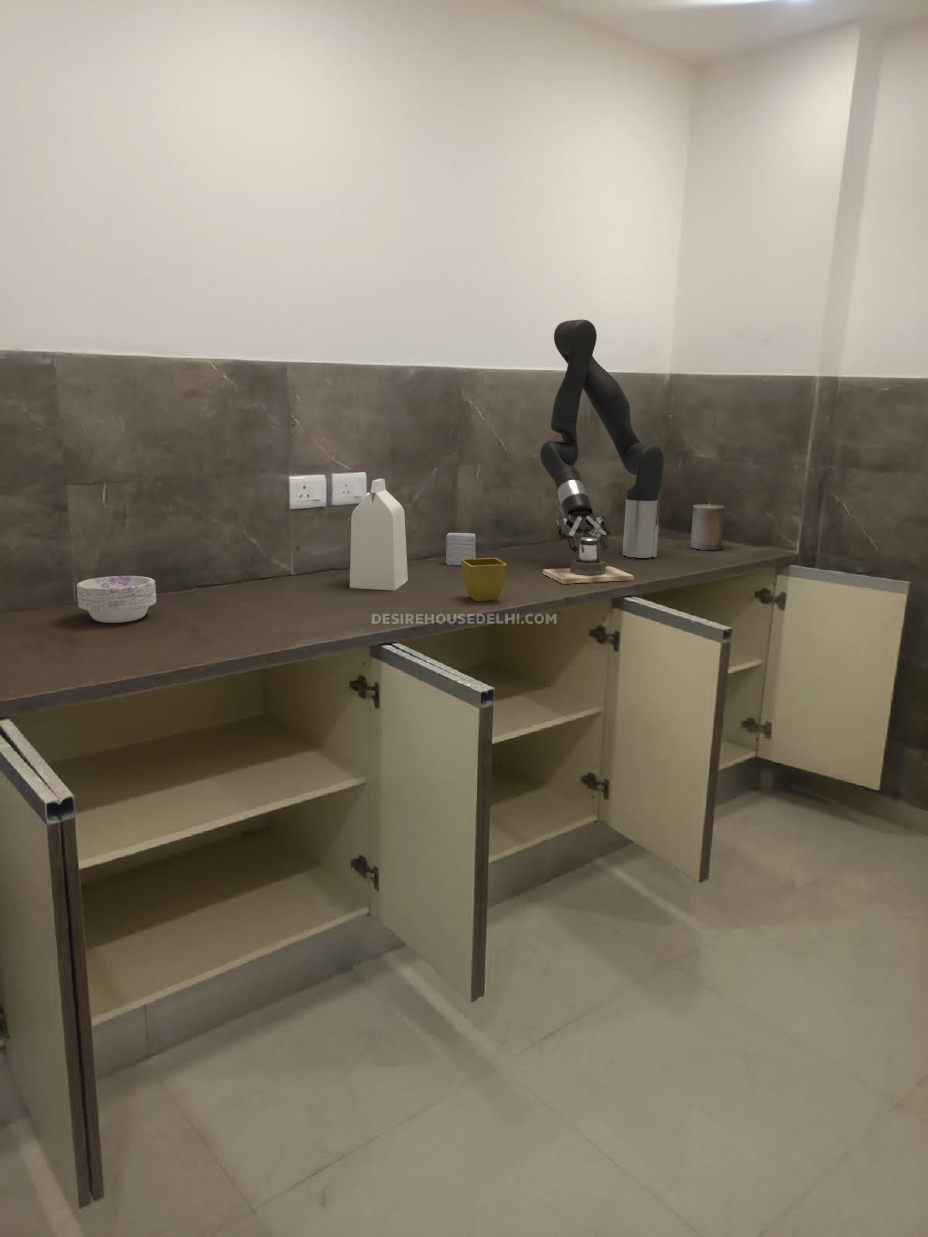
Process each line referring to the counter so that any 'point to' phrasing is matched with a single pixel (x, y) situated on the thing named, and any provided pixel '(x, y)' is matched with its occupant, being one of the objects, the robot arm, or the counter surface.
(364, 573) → the milk
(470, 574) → the flower pot
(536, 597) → the counter surface
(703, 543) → the pillar candle
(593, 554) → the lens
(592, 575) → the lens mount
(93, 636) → the counter surface
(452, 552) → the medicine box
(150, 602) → the paper bowls
